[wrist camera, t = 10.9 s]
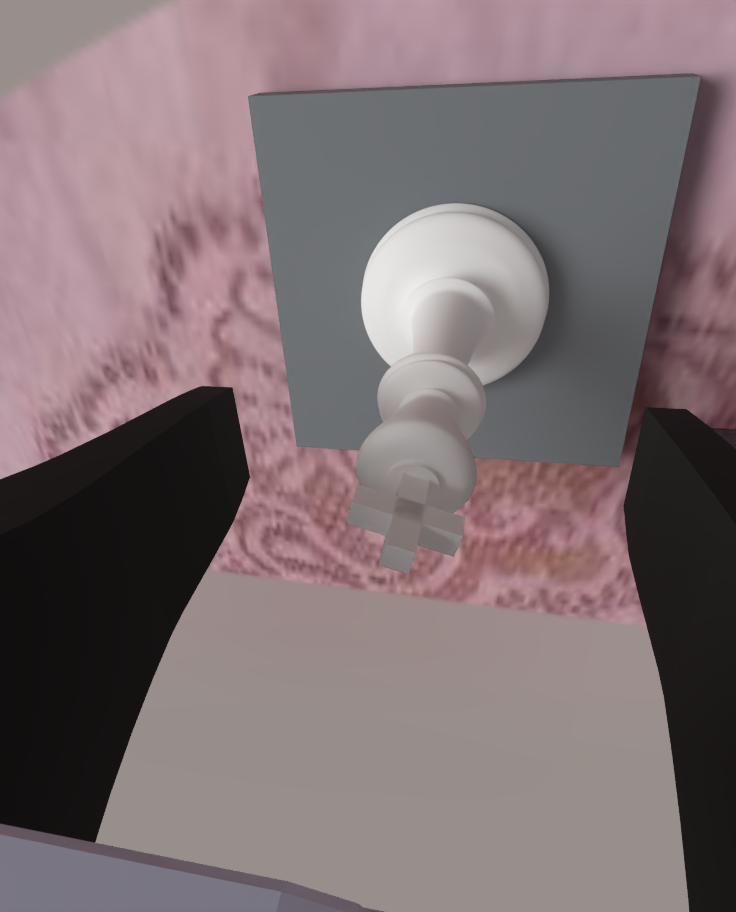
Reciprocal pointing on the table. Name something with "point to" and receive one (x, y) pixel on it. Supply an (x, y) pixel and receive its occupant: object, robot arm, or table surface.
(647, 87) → the mat
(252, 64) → the table surface
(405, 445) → the chess piece
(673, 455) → the robot arm
